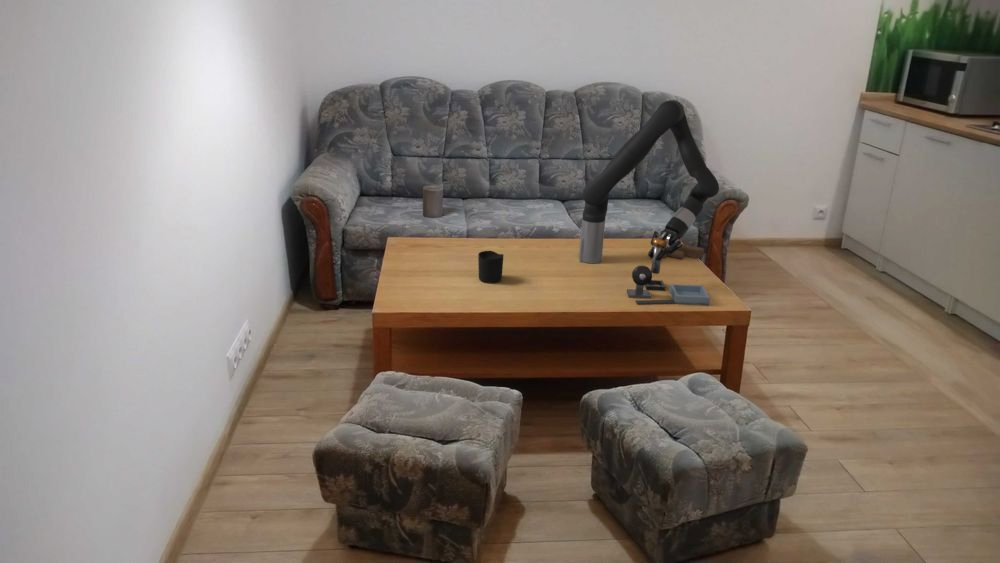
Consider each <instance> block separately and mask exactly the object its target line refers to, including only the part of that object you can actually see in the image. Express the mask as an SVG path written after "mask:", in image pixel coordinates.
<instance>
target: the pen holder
mask: <svg viewBox="0 0 1000 563" xmlns="http://www.w3.org/2000/svg"><path fill="white" fill-rule="evenodd" d="M477 256H478V261H477V262H478V280H479V281H481V282H482V283H485V284H486V283H487V284H497V283H500V282H501V281H502V279H503V278H502V277H503V269H504V268H503V264H504V253H503V254H502V253H497V252H496V251H493V250H483V251H480V252H478V255H477Z"/></svg>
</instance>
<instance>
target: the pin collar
mask: <svg viewBox="0 0 1000 563" xmlns="http://www.w3.org/2000/svg"><path fill="white" fill-rule="evenodd" d="M644 288H645V290H649V291H657V290H658V291H661V292H663V291H664V292H666V285H665V283H664V281H663V280H660V279H658V280H656V279H652V280H651V281H650V283H648V284H647V285H644Z"/></svg>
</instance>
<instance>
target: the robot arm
mask: <svg viewBox="0 0 1000 563" xmlns="http://www.w3.org/2000/svg"><path fill="white" fill-rule="evenodd" d="M668 130H670V131H671V133H672V134H673V137H674V138H675V141H676V144H677V147H678V150H679V154H680V157H681V158H680V159H681V160H682V163H683V164H684V167H685V169H686V171H687V173H688V174H689V176H690V177H691V178H695V181H697V183H696V184H695V185H694V186H693V188H692V189H691V191H690V193H689V195H688V197H687V199H686V200H685V201H684V202H683V203H682V204H681V206H680V207H679V209H678V210H677V211H675V213H674V214H673V215H672V217H670V219H669V221H668V222H667V223H666V224H665V227H664V229H663V230H661V231H660V232H659V231H657V230H654V231H653V234H652V237H651V240H650V245H651V249H650V250H649V251H648V253H647V256H648V258H649V259H650V258H652V257H653V251H654V245H653V238H656V237H659V238H664V239H665V246H663V248H662V250H660V252H659V253H658V254H657V256H656V257H655V259H656V260H657V261H660V260H661V261H662V259H664V258H663V256H664V255H665V254H667V253H669V254H672V253H673V252H675V251H676V250H677V249H679V248H680V247H682V246H683V244H684V243H683V242H682V241H681V239H682V238H683V237H684V235H686V233H687V231H689V229H690V228H691V227H692V226H693V224H694V222H695V220H696V219H697V217H699V215H700V214H701V212H702V210H704V204H705V202H707V200H709V199H711V198H714V197H716V196H717V195H718V194H719V191H720V185H719V182H718V179H717V178H716V177H715V175H714V174H713V172H712V171H711V170H710V169H709V167H708V166H707V164H706V161H705V160H704V157H703V155H702V153H701V151H700V149H699V146H698V145H697V143H696V140H695V138H694V137H693V134H692V131H691V129H690V126H689V123H688V118H687V116H686V112H685V107H684V105H683V104H682V103H681V102H679V101H678V100H675V99H670V100H666V101H664V102H662V103H661V104H660V105H659V106H658V107H657V108H656V110H655V111H654V112H653V114H652V115H651V116H650V118H649V119H648V120H647V122H646V123H645V124H644V125H643V126H642V127H641V128H640V129H638V130H637V131H636V133H634V134H633V135H632V136H631V137H630V138H629V139H628V140H627V141H626V142H625V143H624V144H623V146H621V147H620V148H619V150H618V151H617V152H616V154H615V155H614V156H613V157H612V158H611V160H610V161H609V162H608V164H607V165H606V166H605V168H604V169H603V171H602V172H600V173H599V174H598V176H596V177H595V178H594V179H593V180H591V181H590V182H588V183H587V184H586V185H585V186H584V189H583V191H582V199H583V201H584V202H585V203H584V208H583V211H582V218H581V219H582V220H581V231H580V232H581V233H580V237H579V238H580V240H579V251H578V260H579V262H582V263H585V264H598V263H599V264H600V263H601V262H602V260H603V250H604V240H605V239H604V238H605V229H606V228H605V227H606V225H605V224H606V216H607V214H608V206H609V204H608V203H609V197H610V196H609V195H610V192H611V191H612V190H613V189H614V187H615V186H616V185H617V184H618V183H620V181H622V180H623V179H624V178H626V177H627V176H628V175H629V174H630V173H631V172H632V171H633V170H635V168H637V167H638V165H639V164H641V163H642V162H643V160H644V159H645V158H646V157H647V156H648V154H649V153H650V152H651V151H652V149H653V148H654V146H655V144H656V143H657V141H658V140H659V139H660V138H661V137H662V136H663V135H664V134H666V132H668ZM682 243H683V244H682ZM672 248H673V249H672ZM671 249H672V250H671Z"/></svg>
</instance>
